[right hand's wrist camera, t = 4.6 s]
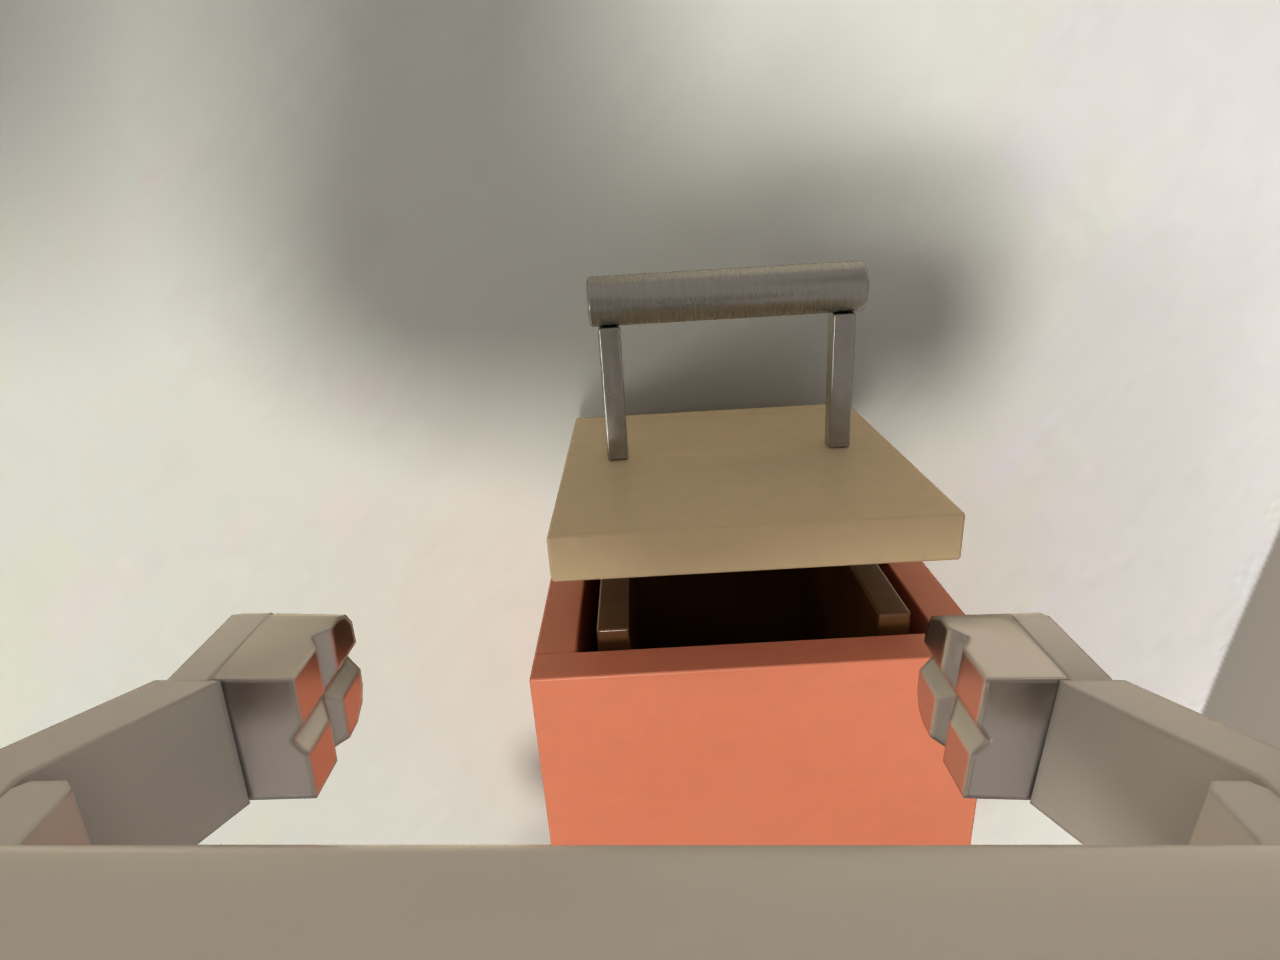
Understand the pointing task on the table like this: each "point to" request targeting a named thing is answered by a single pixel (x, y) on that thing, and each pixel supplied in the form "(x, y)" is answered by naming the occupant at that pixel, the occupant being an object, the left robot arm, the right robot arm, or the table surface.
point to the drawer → (741, 485)
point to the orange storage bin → (742, 735)
